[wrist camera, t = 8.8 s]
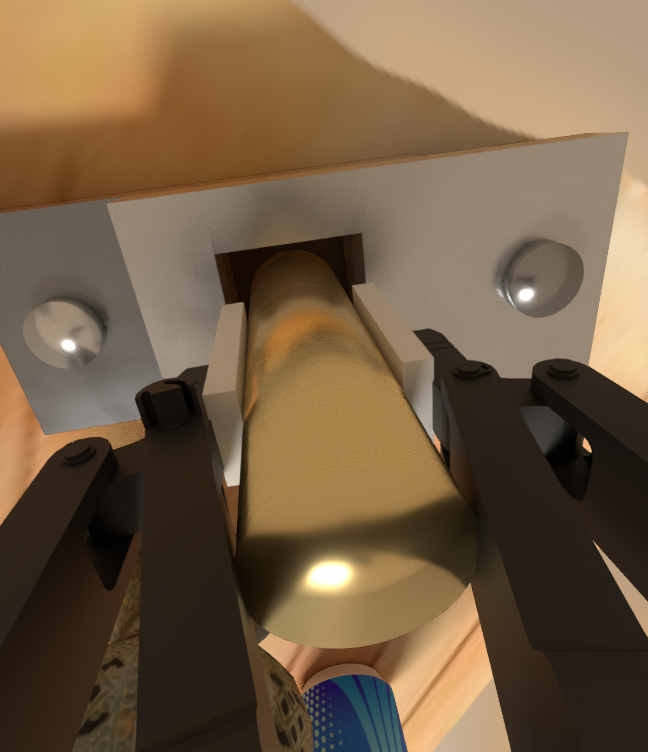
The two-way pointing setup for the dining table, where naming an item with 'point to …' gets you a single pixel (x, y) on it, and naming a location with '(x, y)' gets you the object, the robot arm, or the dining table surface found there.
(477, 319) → the grey device box
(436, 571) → the brass pin
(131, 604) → the lantern
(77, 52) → the dining table surface
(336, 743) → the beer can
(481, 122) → the dining table surface
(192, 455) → the robot arm
